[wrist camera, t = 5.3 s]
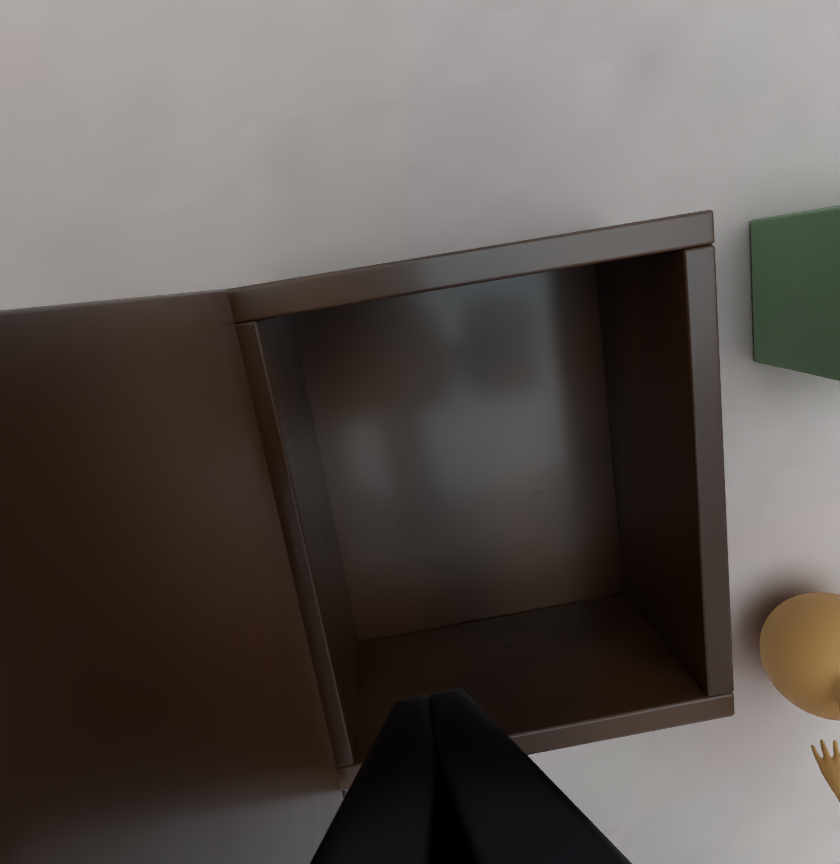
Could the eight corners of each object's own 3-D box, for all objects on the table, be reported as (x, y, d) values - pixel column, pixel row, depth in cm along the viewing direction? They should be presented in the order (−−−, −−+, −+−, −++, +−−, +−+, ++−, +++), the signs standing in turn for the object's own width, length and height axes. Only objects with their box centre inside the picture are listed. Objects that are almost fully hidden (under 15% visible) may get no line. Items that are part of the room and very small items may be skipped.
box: (607, 230, 19) (714, 209, 13) (637, 597, 22) (735, 716, 16) (264, 286, 19) (214, 291, 13) (342, 651, 22) (332, 793, 16)
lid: (-982, 400, 1) (-1295, 454, 1) (249, 2108, 4) (150, 2133, 4) (227, 288, 12) (191, 294, 12) (345, 803, 16) (316, 809, 16)
